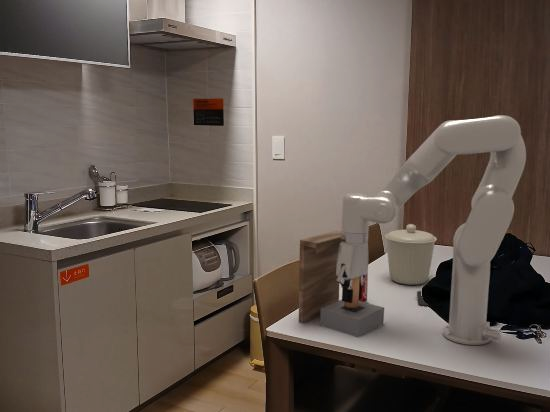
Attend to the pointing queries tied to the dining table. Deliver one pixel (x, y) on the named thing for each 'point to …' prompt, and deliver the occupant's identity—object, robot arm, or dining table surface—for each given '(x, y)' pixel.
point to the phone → (421, 300)
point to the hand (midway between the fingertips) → (351, 299)
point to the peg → (354, 293)
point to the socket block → (352, 317)
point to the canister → (410, 255)
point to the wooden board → (318, 274)
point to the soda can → (364, 289)
